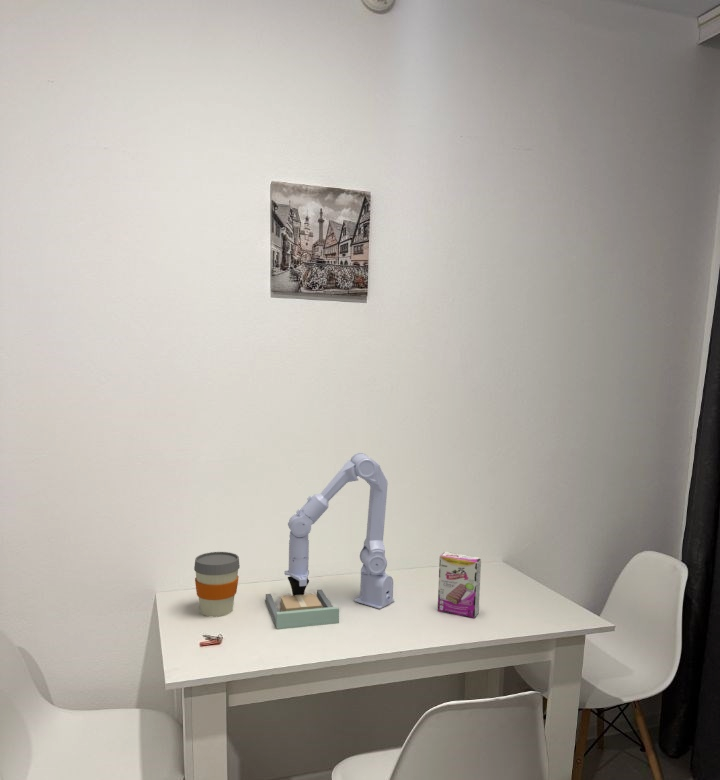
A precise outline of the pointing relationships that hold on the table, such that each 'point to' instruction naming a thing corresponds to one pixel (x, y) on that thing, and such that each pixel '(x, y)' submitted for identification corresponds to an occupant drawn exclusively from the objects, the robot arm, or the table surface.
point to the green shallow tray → (304, 614)
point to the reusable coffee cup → (216, 582)
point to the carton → (299, 602)
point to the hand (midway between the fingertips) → (297, 602)
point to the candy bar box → (459, 584)
